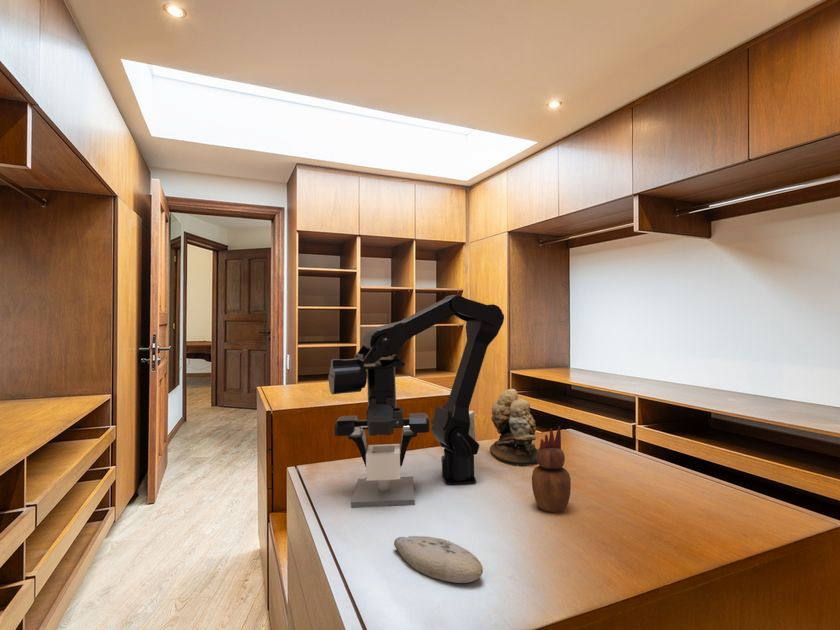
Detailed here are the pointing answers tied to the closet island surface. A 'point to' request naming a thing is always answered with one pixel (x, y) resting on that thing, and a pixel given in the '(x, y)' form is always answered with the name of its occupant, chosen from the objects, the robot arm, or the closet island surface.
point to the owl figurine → (513, 430)
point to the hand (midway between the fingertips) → (384, 466)
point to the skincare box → (472, 425)
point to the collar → (383, 462)
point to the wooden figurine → (551, 475)
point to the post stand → (384, 492)
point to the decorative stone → (439, 558)
